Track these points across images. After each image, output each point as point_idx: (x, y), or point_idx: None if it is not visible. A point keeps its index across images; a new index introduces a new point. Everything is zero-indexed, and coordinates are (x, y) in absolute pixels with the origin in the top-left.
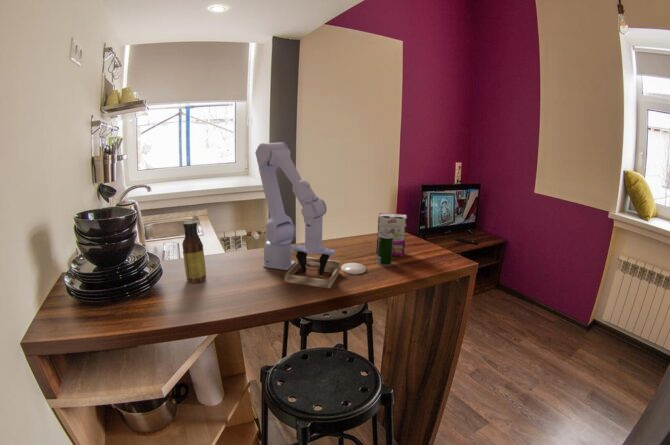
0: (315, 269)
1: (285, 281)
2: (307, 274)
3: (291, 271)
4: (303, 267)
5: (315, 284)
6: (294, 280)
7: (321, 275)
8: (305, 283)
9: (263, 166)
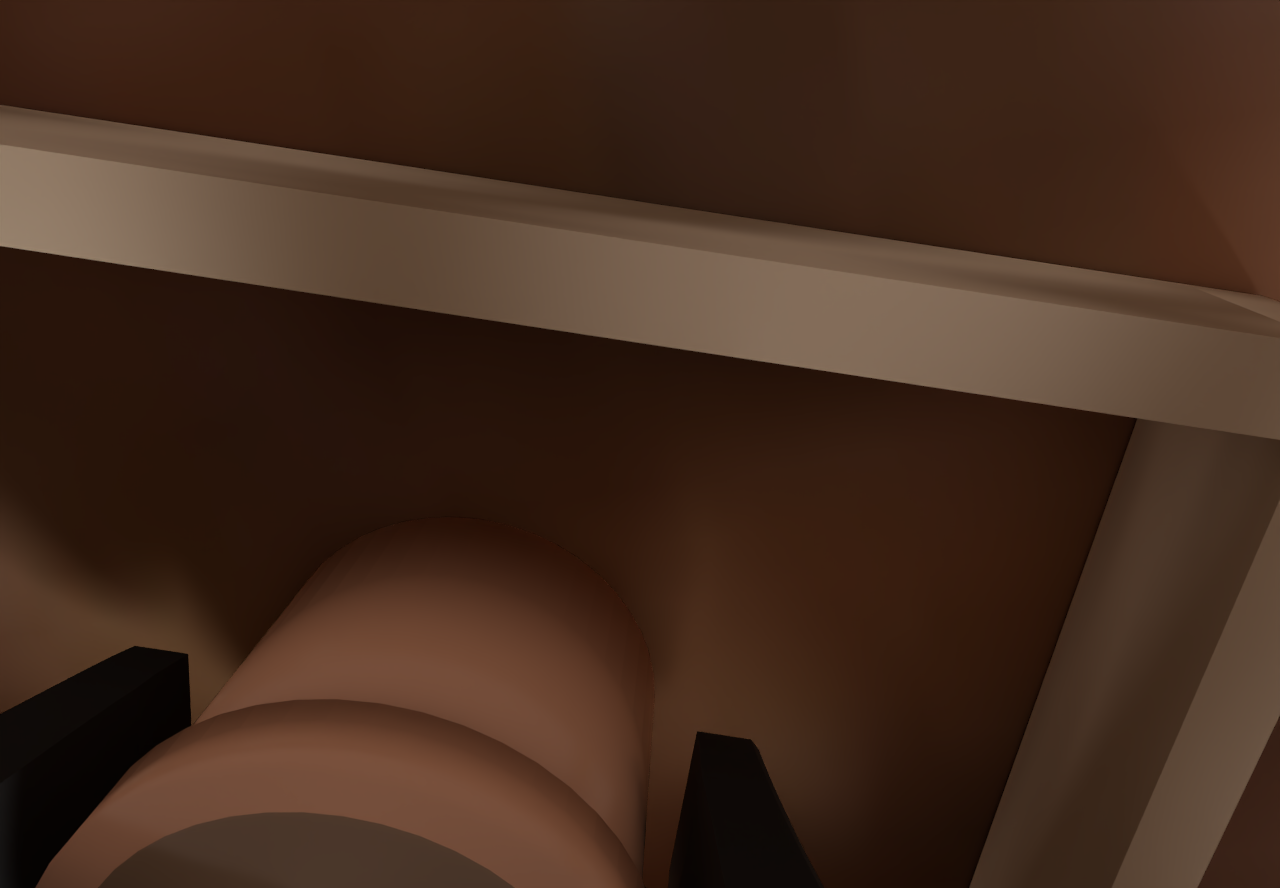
0: (176, 745)
1: (1243, 293)
2: (566, 646)
3: (1136, 741)
4: (721, 875)
5: (199, 146)
6: (955, 259)
7: (129, 653)
8: (553, 194)
9: None
